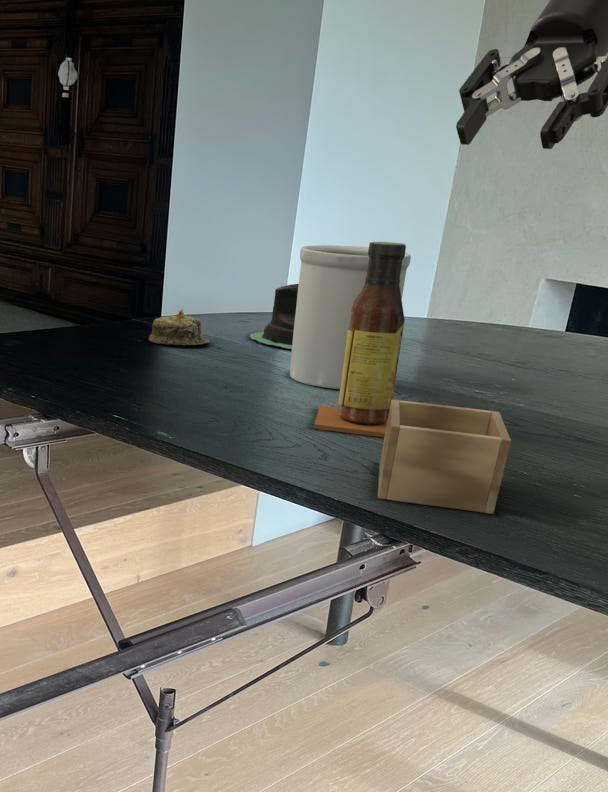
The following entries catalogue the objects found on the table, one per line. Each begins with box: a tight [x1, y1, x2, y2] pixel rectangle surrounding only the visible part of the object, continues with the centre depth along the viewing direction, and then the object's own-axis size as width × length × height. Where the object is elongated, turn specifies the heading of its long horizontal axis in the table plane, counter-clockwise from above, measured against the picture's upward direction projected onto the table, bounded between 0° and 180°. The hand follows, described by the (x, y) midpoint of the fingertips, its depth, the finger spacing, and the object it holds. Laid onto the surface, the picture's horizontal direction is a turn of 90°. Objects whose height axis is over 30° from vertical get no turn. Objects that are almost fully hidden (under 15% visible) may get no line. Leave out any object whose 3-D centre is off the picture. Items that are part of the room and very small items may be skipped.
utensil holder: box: [289, 244, 412, 390], centre depth 138 cm, size 15×15×18 cm
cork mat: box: [313, 405, 388, 438], centre depth 119 cm, size 10×10×1 cm
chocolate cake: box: [249, 283, 299, 350], centre depth 167 cm, size 15×19×20 cm
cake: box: [148, 308, 211, 346], centre depth 160 cm, size 10×10×5 cm
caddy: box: [377, 398, 512, 515], centre depth 96 cm, size 11×12×7 cm
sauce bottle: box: [337, 241, 407, 424], centre depth 115 cm, size 7×6×20 cm
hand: (502, 139), depth 94 cm, fingers open, 8 cm apart
